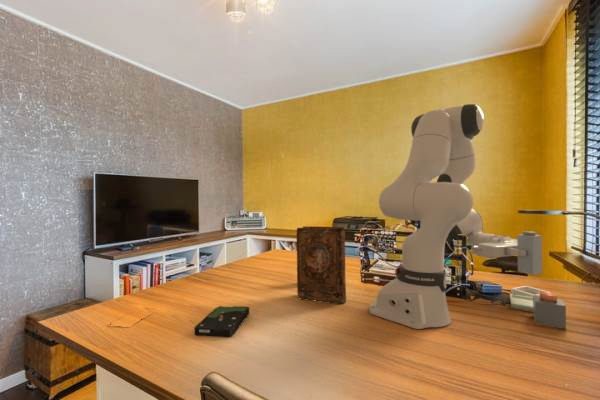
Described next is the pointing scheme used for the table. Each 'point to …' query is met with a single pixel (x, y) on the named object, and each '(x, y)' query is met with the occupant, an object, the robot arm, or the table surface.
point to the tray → (521, 302)
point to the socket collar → (526, 291)
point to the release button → (548, 297)
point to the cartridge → (530, 253)
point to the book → (321, 264)
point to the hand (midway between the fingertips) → (532, 252)
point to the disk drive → (222, 322)
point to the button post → (549, 312)
